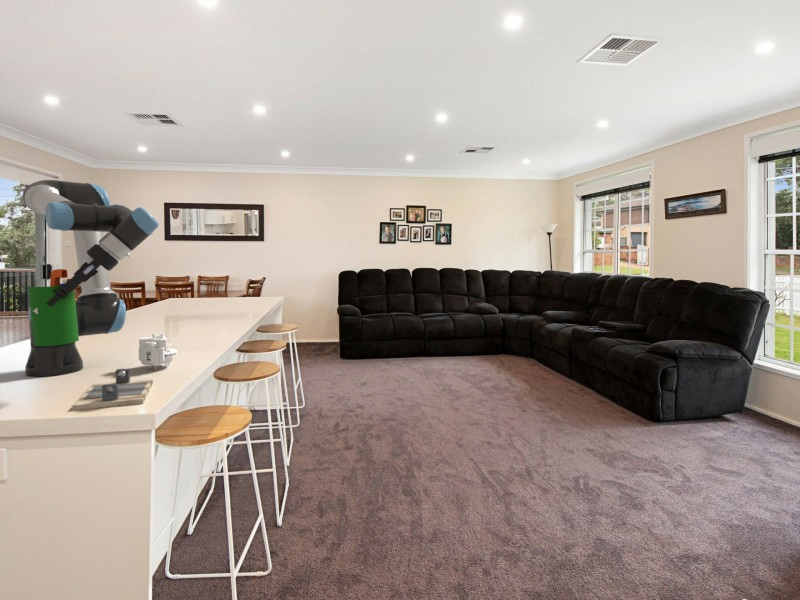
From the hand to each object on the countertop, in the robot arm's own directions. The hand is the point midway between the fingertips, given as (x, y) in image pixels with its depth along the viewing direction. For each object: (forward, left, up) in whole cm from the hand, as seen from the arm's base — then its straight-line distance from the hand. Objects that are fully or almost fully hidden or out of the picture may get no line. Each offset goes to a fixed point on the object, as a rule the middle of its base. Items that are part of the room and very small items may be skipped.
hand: (40, 312), depth 123 cm
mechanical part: (-24, +25, -23) cm, 41 cm away
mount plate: (+7, +18, -23) cm, 30 cm away
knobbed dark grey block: (+15, +18, -21) cm, 32 cm away
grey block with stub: (-1, +18, -21) cm, 28 cm away
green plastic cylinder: (-1, +4, -9) cm, 9 cm away
